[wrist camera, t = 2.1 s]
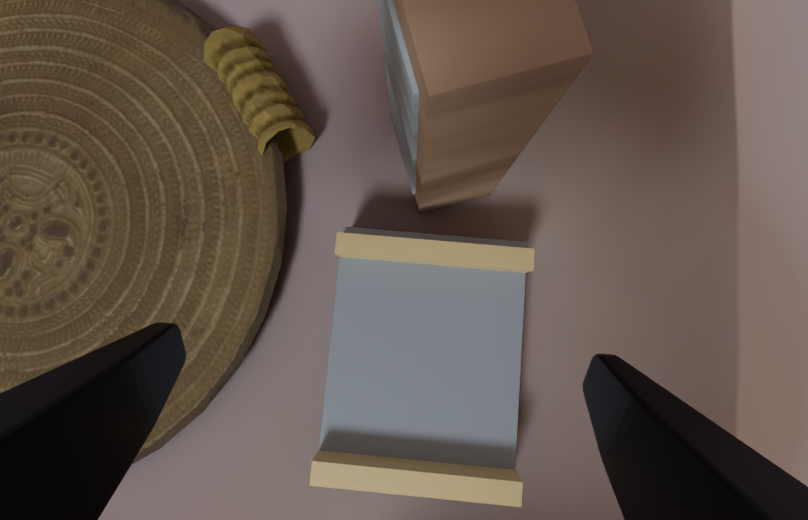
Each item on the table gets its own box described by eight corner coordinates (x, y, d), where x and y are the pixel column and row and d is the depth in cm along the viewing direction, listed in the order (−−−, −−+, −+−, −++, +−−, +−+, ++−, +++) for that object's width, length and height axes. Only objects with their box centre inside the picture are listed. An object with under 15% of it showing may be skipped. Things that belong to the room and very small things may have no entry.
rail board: (502, 483, 19) (520, 519, 16) (325, 466, 20) (307, 498, 16) (516, 247, 21) (535, 237, 17) (349, 233, 21) (338, 221, 18)
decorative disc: (-350, 143, 20) (115, -175, 20) (-242, 163, 24) (158, -109, 24) (-126, 639, 18) (418, 271, 17) (-38, 584, 21) (419, 274, 21)
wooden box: (492, 194, 21) (600, 51, 9) (416, 214, 21) (422, 97, 9) (462, 93, 22) (525, -164, 10) (388, 113, 22) (359, -122, 10)
